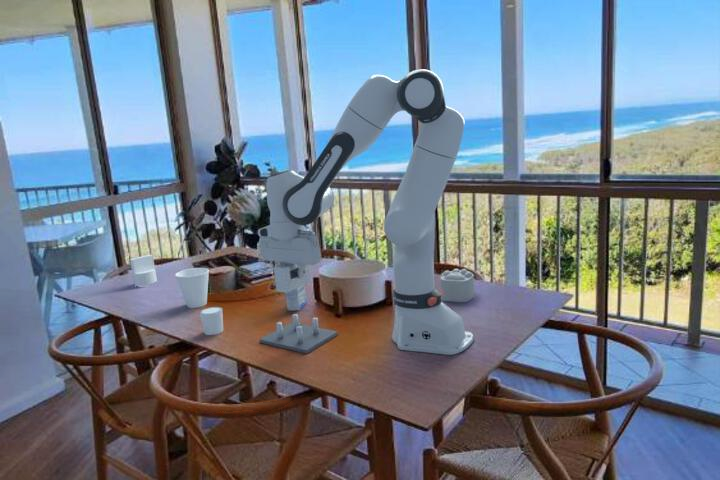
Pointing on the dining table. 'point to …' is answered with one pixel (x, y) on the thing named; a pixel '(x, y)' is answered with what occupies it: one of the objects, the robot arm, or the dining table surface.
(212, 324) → the white short cylinder
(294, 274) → the drive
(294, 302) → the medicine box
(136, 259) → the base with upright slab
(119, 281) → the dining table surface
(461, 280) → the bowl of white balls
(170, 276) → the dining table surface
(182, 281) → the cup
